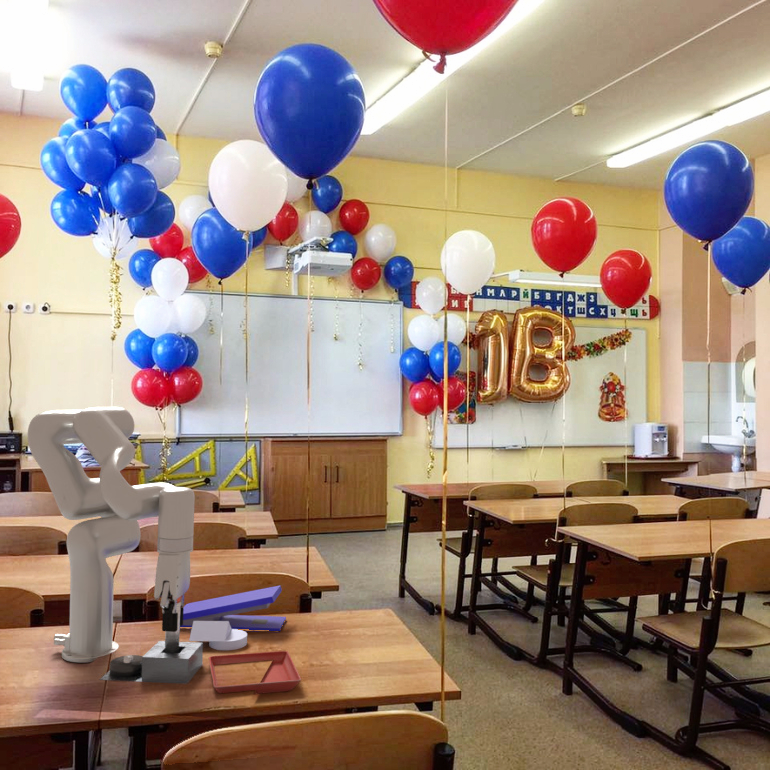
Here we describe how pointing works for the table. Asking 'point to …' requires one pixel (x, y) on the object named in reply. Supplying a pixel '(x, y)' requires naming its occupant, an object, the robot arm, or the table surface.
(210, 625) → the wedge on round base
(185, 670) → the block
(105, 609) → the robot arm
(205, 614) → the stapler
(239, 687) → the plant saucer
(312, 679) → the table surface
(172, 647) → the pin
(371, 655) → the table surface
